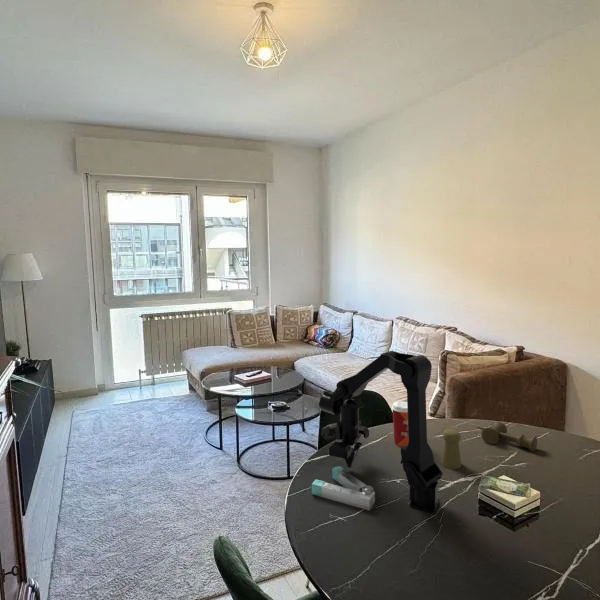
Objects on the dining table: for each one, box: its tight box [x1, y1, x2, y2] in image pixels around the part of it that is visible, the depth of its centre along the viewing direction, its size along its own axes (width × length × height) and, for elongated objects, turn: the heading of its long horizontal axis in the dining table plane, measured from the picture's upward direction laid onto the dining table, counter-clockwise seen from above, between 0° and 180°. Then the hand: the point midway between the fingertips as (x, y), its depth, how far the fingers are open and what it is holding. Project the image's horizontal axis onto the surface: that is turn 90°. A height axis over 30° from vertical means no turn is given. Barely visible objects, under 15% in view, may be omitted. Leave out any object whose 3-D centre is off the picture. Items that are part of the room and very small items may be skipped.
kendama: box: [476, 421, 539, 453], centre depth 155 cm, size 6×10×20 cm
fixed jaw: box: [311, 478, 376, 511], centre depth 123 cm, size 17×6×4 cm, turn 61°
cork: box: [440, 428, 462, 470], centre depth 140 cm, size 6×6×11 cm
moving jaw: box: [331, 465, 368, 492], centre depth 129 cm, size 13×3×3 cm, turn 31°
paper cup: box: [391, 401, 408, 447], centre depth 156 cm, size 8×8×14 cm
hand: (349, 467), depth 138 cm, fingers closed
